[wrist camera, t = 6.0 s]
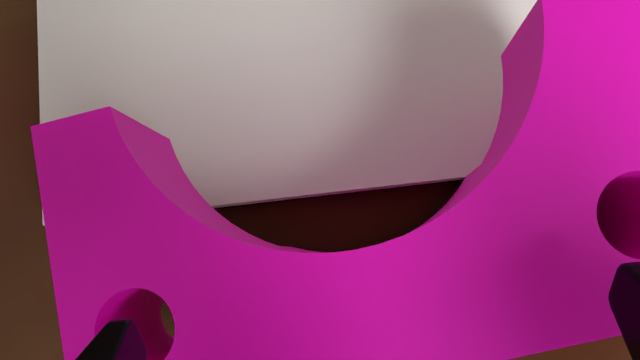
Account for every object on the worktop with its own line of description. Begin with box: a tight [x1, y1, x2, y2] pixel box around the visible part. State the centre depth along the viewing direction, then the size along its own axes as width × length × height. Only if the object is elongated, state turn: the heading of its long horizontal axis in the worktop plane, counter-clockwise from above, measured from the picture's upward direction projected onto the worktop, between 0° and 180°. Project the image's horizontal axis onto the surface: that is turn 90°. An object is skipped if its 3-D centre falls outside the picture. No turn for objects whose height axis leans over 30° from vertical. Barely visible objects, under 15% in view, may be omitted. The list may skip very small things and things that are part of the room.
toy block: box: [30, 0, 640, 360], centre depth 15 cm, size 15×6×8 cm
